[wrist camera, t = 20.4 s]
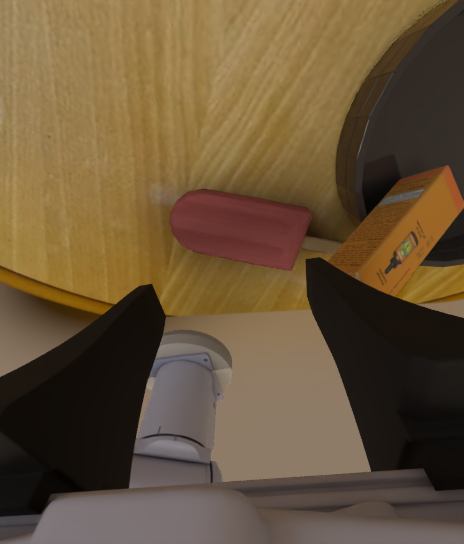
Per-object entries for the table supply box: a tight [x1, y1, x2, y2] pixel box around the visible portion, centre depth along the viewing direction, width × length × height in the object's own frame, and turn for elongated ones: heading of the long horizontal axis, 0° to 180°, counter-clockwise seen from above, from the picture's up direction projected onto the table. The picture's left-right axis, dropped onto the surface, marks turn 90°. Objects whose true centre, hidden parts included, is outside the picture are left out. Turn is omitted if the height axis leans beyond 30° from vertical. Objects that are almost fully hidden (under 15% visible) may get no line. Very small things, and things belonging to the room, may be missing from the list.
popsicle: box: [170, 189, 343, 271], centre depth 20 cm, size 5×2×15 cm
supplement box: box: [328, 165, 464, 297], centre depth 16 cm, size 3×3×10 cm
